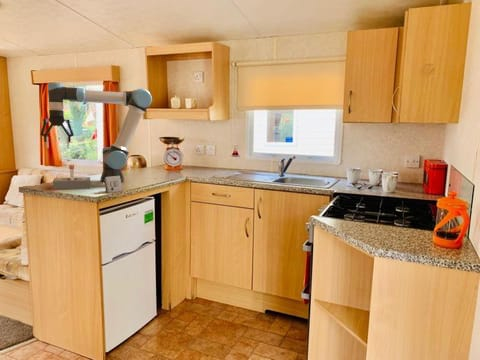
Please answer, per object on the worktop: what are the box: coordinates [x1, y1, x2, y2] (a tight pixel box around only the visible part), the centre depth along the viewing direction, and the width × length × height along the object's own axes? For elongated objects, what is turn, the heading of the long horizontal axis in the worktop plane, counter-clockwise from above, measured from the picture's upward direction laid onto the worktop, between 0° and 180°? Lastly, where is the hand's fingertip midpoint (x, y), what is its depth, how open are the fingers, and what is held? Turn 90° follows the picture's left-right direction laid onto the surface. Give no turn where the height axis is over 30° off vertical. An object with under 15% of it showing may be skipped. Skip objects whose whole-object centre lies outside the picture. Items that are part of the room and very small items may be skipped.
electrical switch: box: [104, 176, 123, 194], centre depth 211 cm, size 9×5×9 cm, turn 141°
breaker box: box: [52, 176, 91, 191], centre depth 221 cm, size 20×13×5 cm, turn 112°
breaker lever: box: [68, 164, 76, 180], centre depth 220 cm, size 3×6×10 cm, turn 22°
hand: (58, 148), depth 216 cm, fingers open, 10 cm apart
